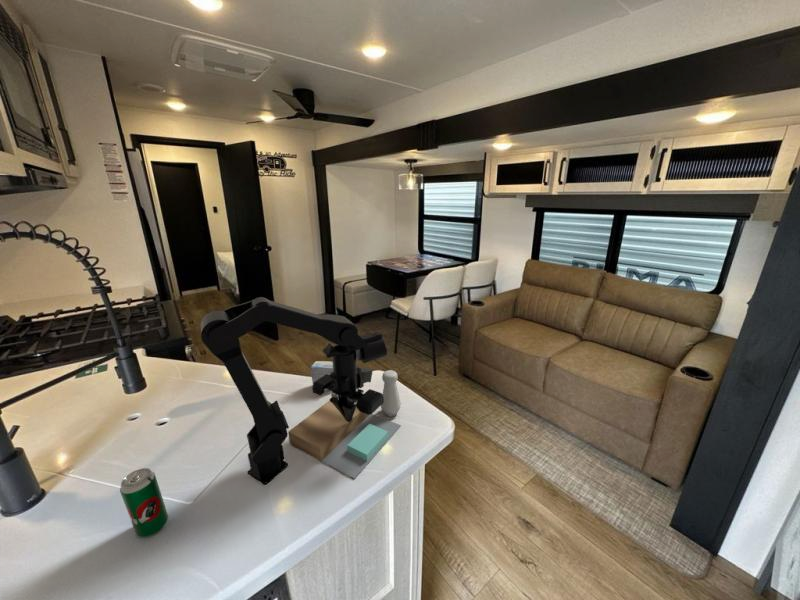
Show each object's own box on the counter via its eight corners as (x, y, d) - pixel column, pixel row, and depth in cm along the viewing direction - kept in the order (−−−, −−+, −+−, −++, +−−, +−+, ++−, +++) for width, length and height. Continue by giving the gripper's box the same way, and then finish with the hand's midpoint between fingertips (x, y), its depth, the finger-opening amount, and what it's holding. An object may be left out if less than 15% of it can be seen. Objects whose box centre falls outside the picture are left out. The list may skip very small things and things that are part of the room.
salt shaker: (403, 415, 91) (403, 375, 87) (385, 420, 89) (383, 380, 85) (396, 404, 96) (395, 365, 92) (378, 408, 94) (376, 370, 90)
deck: (321, 461, 76) (320, 448, 74) (290, 444, 81) (288, 431, 80) (371, 414, 92) (370, 402, 91) (342, 402, 97) (341, 391, 96)
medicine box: (340, 384, 107) (338, 361, 105) (336, 391, 103) (334, 368, 100) (317, 383, 108) (315, 360, 105) (313, 390, 104) (310, 367, 101)
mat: (354, 479, 71) (354, 478, 71) (321, 461, 76) (321, 460, 76) (400, 426, 87) (400, 425, 87) (371, 414, 92) (371, 413, 92)
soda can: (174, 513, 64) (160, 465, 60) (157, 538, 59) (140, 489, 55) (149, 514, 64) (132, 466, 60) (129, 540, 59) (110, 490, 55)
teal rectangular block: (347, 445, 77) (347, 451, 78) (366, 454, 74) (367, 461, 75) (369, 423, 85) (369, 429, 85) (388, 431, 82) (388, 438, 82)
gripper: (395, 362, 79) (396, 415, 84) (338, 346, 88) (342, 394, 93) (368, 384, 70) (371, 441, 75) (308, 363, 79) (314, 416, 84)
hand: (349, 421), depth 82 cm, fingers closed
